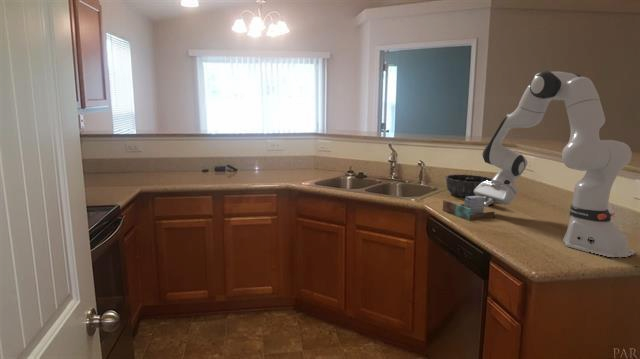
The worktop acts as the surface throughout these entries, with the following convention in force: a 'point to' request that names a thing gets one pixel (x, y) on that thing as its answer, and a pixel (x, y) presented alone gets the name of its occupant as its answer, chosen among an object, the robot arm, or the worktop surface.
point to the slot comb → (464, 211)
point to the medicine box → (475, 204)
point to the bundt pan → (464, 184)
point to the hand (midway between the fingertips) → (483, 205)
